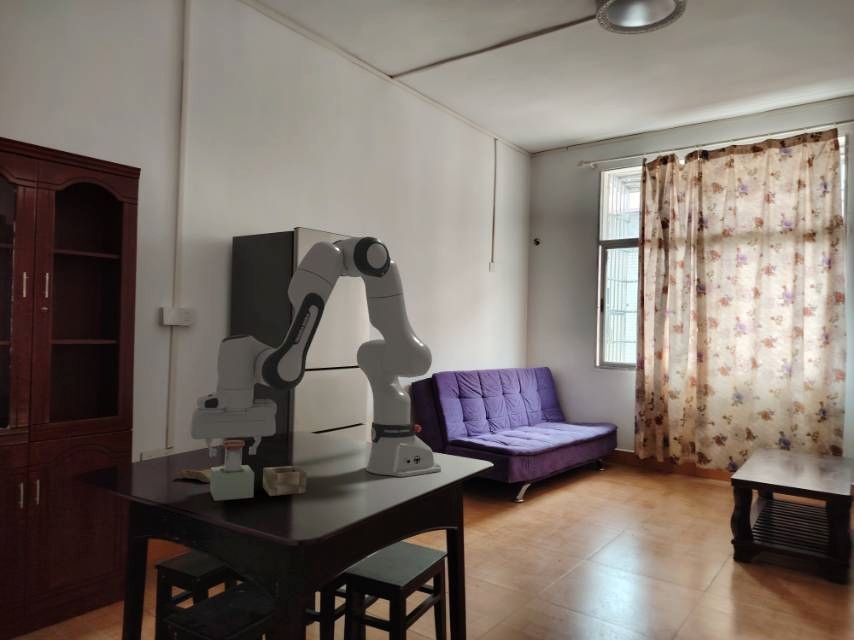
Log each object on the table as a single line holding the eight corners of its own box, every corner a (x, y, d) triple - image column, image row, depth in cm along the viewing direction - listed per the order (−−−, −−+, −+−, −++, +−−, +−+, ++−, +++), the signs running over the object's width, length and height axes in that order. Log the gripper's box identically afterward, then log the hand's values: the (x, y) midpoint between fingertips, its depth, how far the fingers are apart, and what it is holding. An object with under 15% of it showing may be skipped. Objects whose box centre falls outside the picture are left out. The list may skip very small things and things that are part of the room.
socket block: (246, 488, 158) (247, 465, 158) (253, 497, 150) (254, 472, 150) (210, 491, 154) (210, 467, 154) (214, 500, 146) (215, 475, 146)
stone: (176, 479, 166) (176, 468, 166) (227, 470, 178) (227, 459, 178) (197, 487, 159) (197, 475, 159) (248, 477, 171) (249, 465, 171)
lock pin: (240, 491, 155) (242, 439, 155) (244, 496, 151) (245, 442, 151) (220, 492, 153) (221, 440, 153) (222, 497, 148) (224, 444, 149)
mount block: (297, 484, 163) (297, 465, 164) (305, 492, 155) (306, 472, 155) (262, 487, 159) (263, 467, 160) (269, 495, 151) (270, 475, 151)
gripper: (274, 397, 160) (272, 450, 159) (190, 399, 151) (188, 455, 150) (279, 400, 154) (277, 455, 154) (192, 402, 145) (190, 460, 145)
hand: (232, 455), depth 152 cm, fingers open, 8 cm apart
